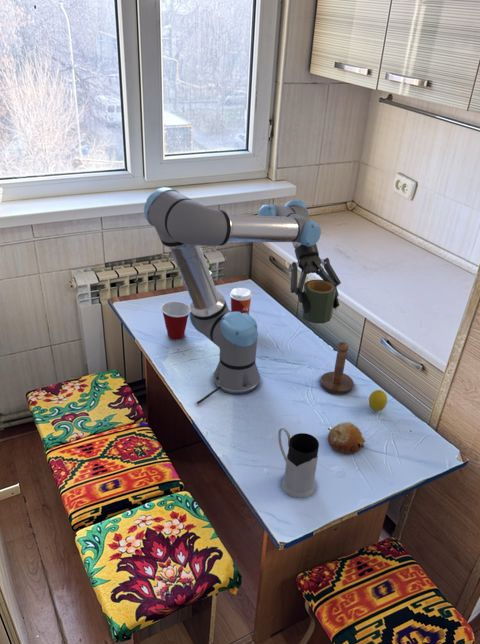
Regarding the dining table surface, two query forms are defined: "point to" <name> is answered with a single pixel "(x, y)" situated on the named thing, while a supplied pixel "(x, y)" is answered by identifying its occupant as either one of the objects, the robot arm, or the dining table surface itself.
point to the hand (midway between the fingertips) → (322, 309)
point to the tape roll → (319, 301)
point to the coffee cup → (240, 300)
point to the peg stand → (338, 374)
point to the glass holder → (300, 464)
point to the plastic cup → (175, 318)
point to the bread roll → (346, 438)
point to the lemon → (378, 400)
